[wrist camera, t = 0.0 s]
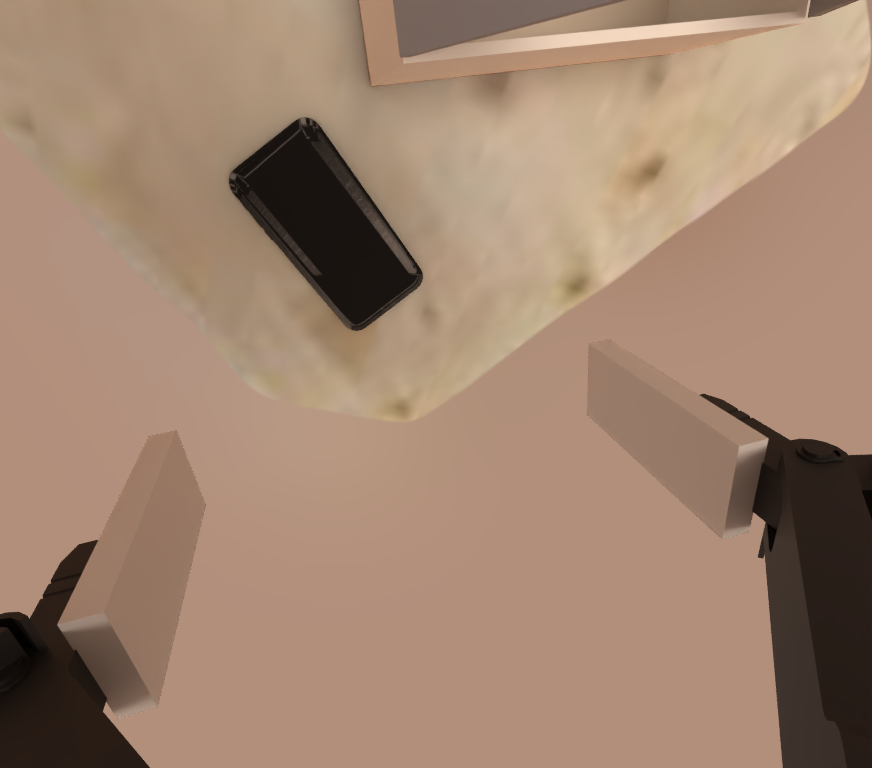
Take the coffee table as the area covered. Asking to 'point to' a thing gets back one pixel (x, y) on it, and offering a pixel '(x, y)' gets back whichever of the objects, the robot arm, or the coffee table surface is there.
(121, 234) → the coffee table surface
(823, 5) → the flap
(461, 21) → the flap
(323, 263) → the phone
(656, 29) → the carton
